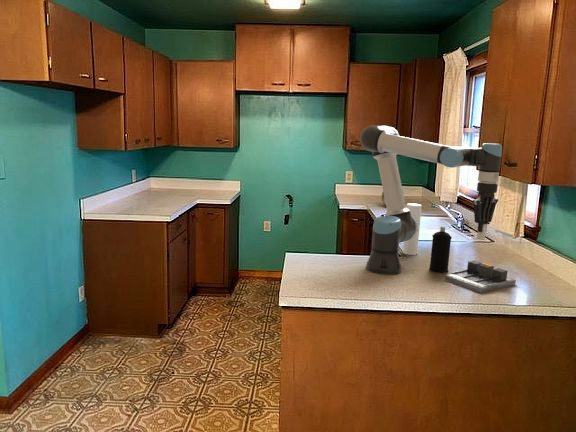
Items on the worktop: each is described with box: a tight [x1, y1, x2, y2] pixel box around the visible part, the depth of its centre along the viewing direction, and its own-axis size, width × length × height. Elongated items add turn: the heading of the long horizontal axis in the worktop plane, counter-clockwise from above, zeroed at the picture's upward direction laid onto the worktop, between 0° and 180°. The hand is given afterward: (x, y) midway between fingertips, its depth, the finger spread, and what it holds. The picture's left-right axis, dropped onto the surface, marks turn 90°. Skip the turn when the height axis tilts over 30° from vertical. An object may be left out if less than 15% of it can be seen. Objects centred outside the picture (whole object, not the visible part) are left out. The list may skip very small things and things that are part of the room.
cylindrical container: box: [402, 202, 422, 256], centre depth 236 cm, size 7×7×25 cm
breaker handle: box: [479, 262, 495, 278], centre depth 197 cm, size 4×4×5 cm
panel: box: [444, 260, 517, 294], centre depth 195 cm, size 22×18×6 cm
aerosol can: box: [428, 226, 452, 274], centre depth 208 cm, size 8×8×20 cm
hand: (480, 239), depth 193 cm, fingers closed
